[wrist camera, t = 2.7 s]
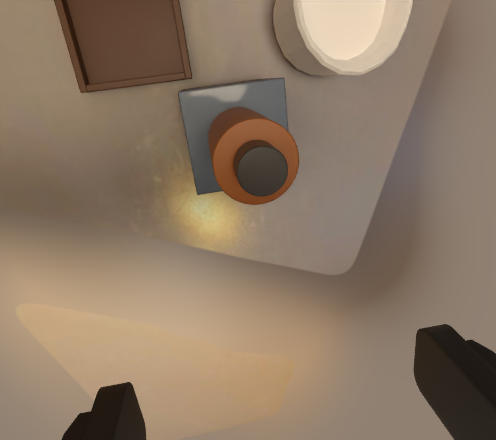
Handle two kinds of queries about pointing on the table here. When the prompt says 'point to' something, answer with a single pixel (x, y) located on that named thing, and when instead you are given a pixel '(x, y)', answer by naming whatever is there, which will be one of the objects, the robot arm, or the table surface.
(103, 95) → the table surface
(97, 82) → the tray
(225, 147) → the amber bottle
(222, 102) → the stand
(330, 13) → the cup
